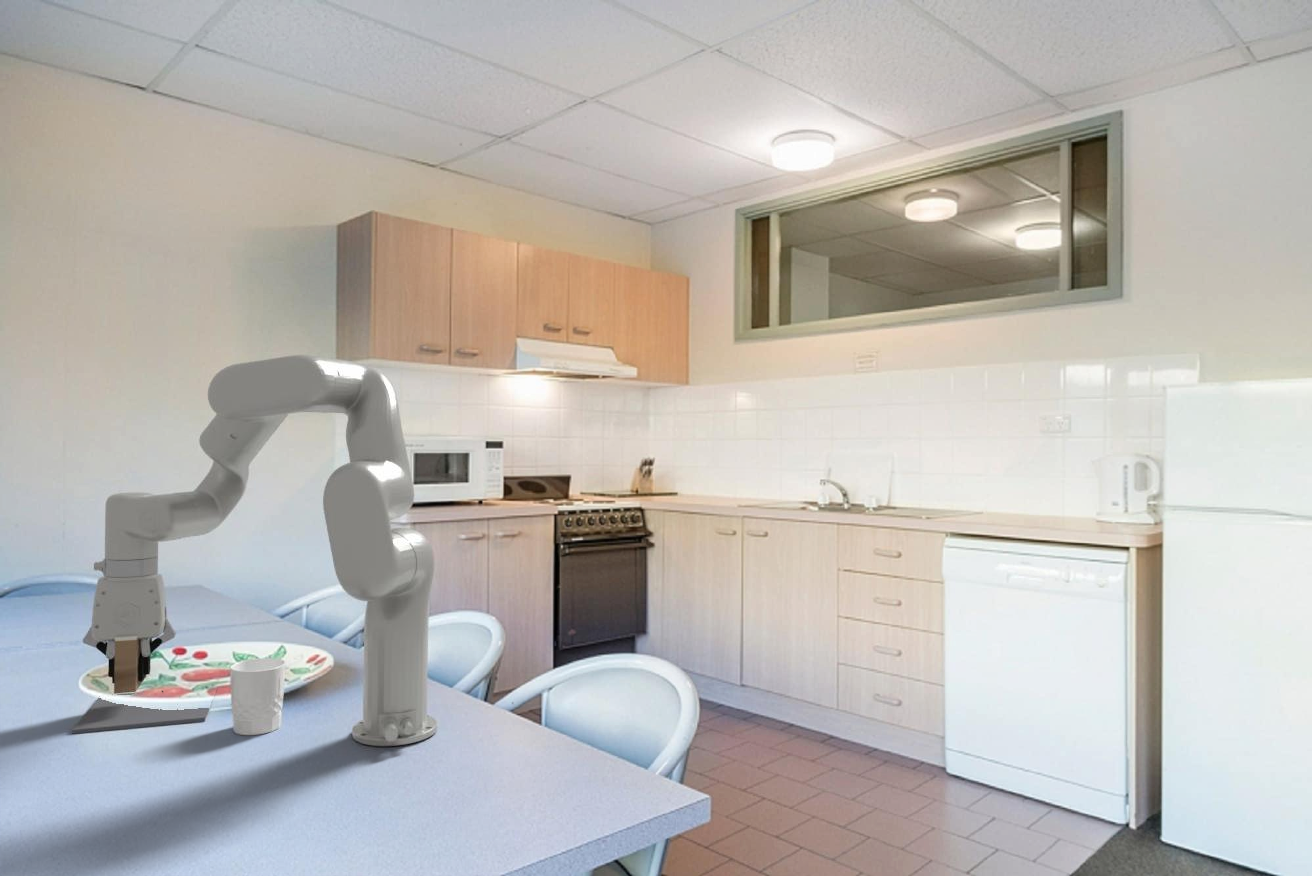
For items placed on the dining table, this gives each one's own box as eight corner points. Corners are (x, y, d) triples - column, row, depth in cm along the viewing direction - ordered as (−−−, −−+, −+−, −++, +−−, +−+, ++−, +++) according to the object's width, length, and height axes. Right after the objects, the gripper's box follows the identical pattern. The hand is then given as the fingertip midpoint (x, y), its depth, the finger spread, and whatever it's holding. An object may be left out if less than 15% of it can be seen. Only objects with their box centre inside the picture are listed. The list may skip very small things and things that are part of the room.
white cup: (217, 731, 134) (218, 666, 133) (262, 716, 140) (263, 655, 140) (251, 740, 130) (252, 674, 130) (295, 725, 137) (296, 662, 137)
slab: (135, 691, 139) (136, 636, 139) (114, 693, 138) (114, 637, 138) (143, 679, 146) (144, 626, 146) (123, 681, 145) (124, 627, 145)
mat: (204, 721, 138) (204, 717, 138) (72, 733, 131) (72, 729, 131) (217, 689, 155) (217, 686, 155) (100, 699, 148) (100, 695, 148)
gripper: (66, 574, 135) (64, 691, 135) (184, 570, 141) (182, 682, 141) (78, 566, 142) (77, 678, 142) (190, 563, 148) (188, 670, 148)
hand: (129, 679), depth 142 cm, fingers closed on slab, 3 cm apart
